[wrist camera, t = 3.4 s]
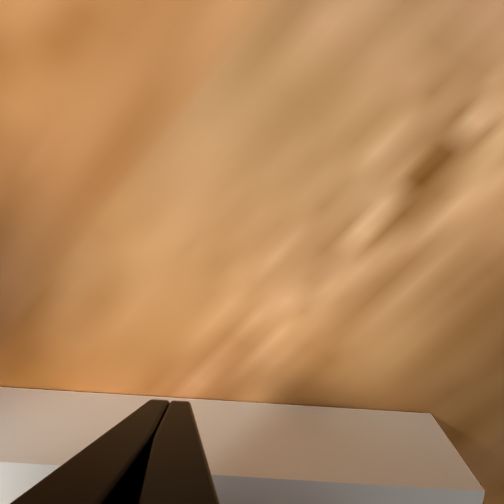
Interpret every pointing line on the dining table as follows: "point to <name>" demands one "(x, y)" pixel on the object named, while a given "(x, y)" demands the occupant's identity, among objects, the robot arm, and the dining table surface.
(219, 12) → the dining table surface
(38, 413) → the block
